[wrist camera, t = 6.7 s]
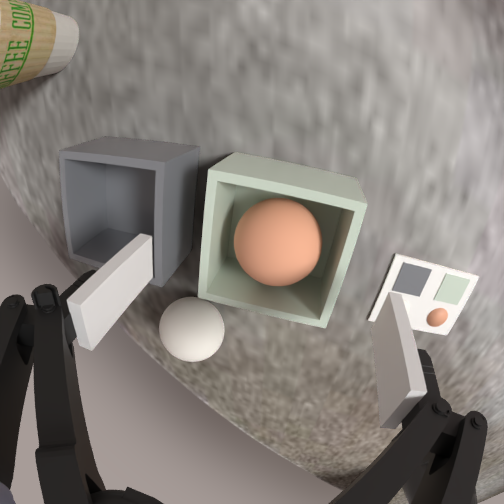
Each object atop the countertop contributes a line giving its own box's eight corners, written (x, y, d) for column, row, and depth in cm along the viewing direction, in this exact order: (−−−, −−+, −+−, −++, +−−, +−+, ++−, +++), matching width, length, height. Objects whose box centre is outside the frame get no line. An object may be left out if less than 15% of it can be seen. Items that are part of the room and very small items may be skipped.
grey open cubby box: (191, 250, 28) (162, 287, 22) (106, 229, 29) (69, 258, 23) (199, 146, 23) (164, 162, 18) (105, 136, 24) (59, 150, 19)
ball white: (228, 339, 32) (211, 382, 26) (174, 323, 32) (150, 362, 27) (234, 293, 29) (215, 336, 23) (174, 277, 29) (145, 315, 24)
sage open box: (326, 282, 26) (325, 328, 21) (221, 257, 27) (197, 297, 22) (356, 178, 22) (367, 203, 17) (234, 152, 23) (208, 169, 18)
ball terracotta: (312, 267, 25) (308, 312, 20) (239, 250, 26) (219, 291, 21) (330, 197, 22) (333, 229, 17) (250, 180, 23) (229, 206, 18)
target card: (446, 334, 26) (447, 336, 26) (368, 319, 27) (368, 321, 27) (478, 275, 23) (479, 277, 22) (395, 253, 24) (396, 255, 23)
